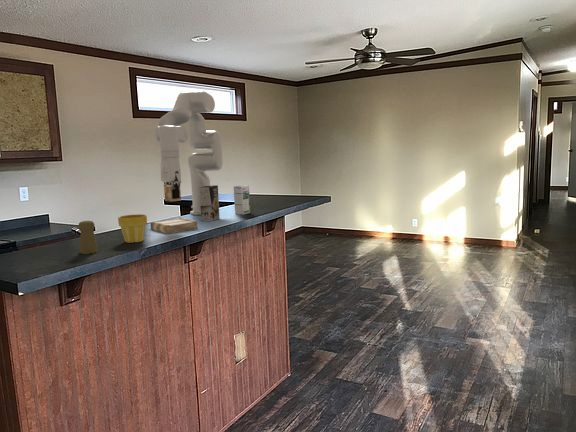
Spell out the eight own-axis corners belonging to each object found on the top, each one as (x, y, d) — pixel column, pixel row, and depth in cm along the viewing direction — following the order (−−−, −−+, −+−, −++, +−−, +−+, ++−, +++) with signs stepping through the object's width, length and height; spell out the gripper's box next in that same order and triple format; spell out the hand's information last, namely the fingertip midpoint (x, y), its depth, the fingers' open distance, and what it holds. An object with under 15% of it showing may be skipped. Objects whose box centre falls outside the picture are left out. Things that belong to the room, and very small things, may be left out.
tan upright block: (164, 200, 205) (163, 184, 204) (175, 199, 208) (174, 183, 207) (170, 201, 201) (169, 185, 200) (181, 200, 204) (180, 184, 203)
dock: (150, 228, 209) (149, 221, 209) (179, 224, 218) (178, 217, 217) (167, 233, 197) (167, 225, 196) (197, 228, 206) (197, 221, 205)
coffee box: (213, 221, 224) (211, 186, 222) (200, 221, 226) (198, 187, 223) (220, 218, 233) (218, 185, 231) (207, 217, 234) (205, 185, 232)
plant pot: (128, 238, 189) (126, 213, 188) (153, 238, 188) (151, 213, 186) (114, 243, 179) (112, 218, 178) (140, 244, 177) (138, 218, 176)
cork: (101, 251, 167) (98, 220, 165) (84, 254, 162) (81, 223, 161) (93, 249, 171) (90, 219, 169) (76, 252, 166) (73, 221, 165)
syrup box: (243, 214, 241) (241, 186, 239) (234, 214, 245) (233, 185, 242) (250, 213, 246) (249, 185, 243) (242, 212, 249) (240, 184, 247)
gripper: (152, 155, 205) (155, 197, 208) (171, 155, 193) (174, 200, 195) (168, 155, 210) (171, 196, 213) (187, 154, 197) (190, 198, 200)
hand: (172, 197), depth 204 cm, fingers closed on tan upright block, 5 cm apart
